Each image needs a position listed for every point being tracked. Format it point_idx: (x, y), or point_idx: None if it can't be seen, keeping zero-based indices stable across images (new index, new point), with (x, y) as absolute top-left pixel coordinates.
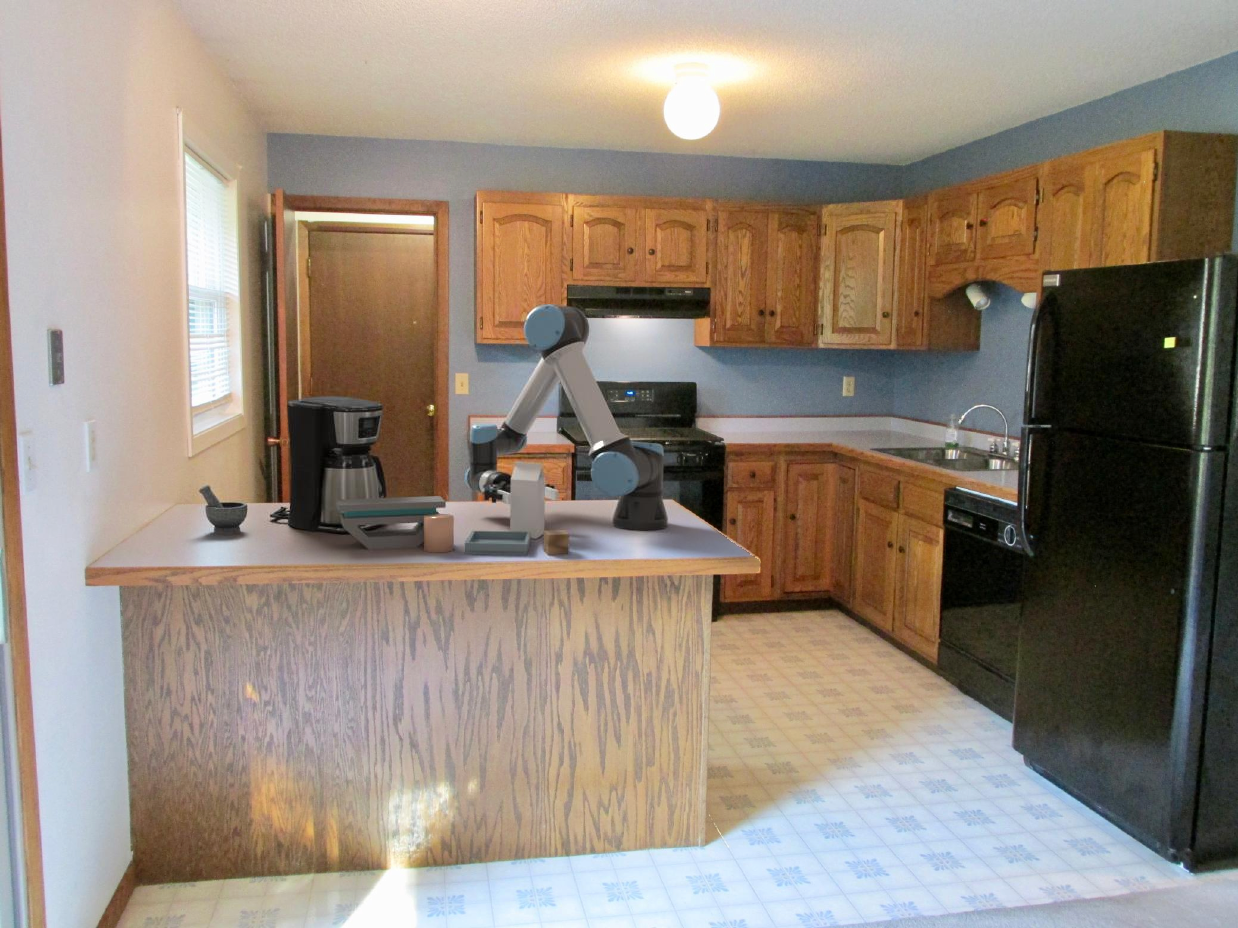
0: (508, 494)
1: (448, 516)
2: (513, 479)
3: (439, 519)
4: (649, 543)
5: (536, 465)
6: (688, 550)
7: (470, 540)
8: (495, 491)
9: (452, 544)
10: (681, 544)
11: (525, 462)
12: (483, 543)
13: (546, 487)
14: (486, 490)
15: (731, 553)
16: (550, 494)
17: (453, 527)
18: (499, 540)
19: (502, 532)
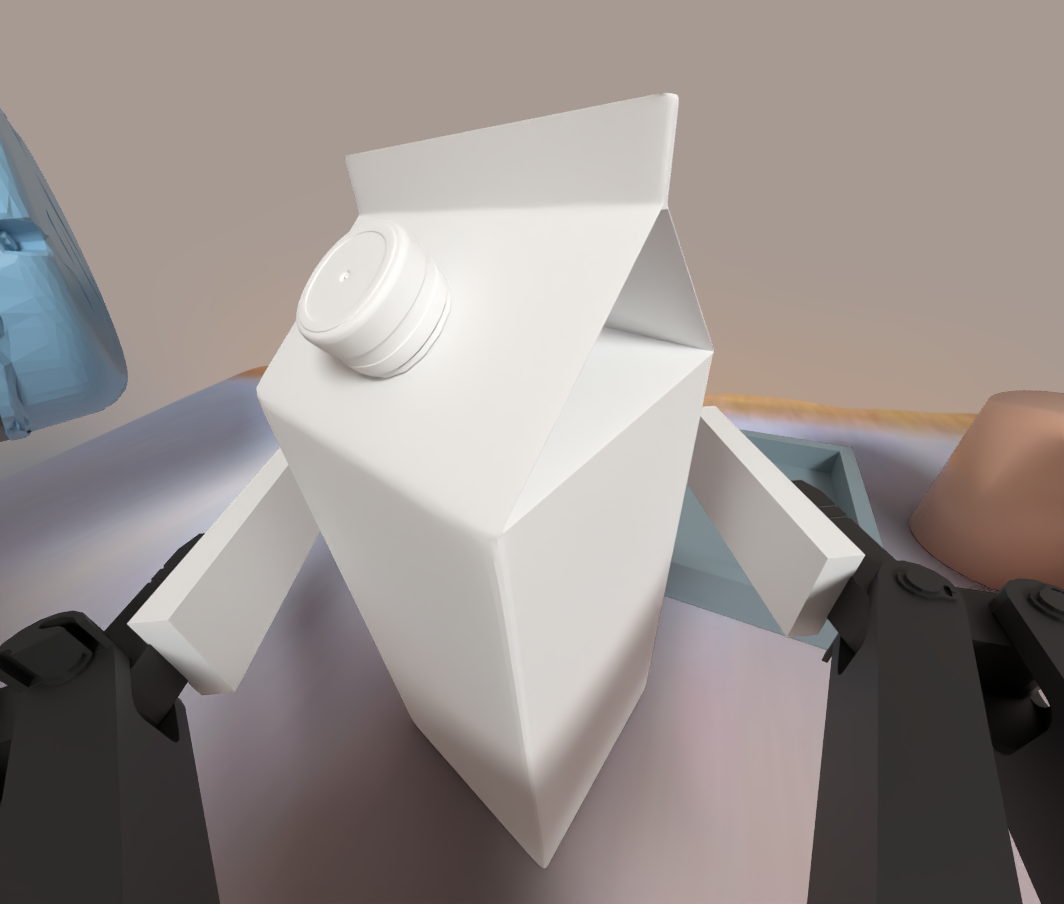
0: (712, 409)
1: (1025, 415)
2: (680, 346)
3: (1035, 393)
4: (239, 465)
5: (395, 188)
6: (254, 411)
7: (845, 489)
8: (883, 567)
9: (921, 502)
10: (192, 444)
11: (497, 128)
12: (777, 436)
13: (200, 572)
14: (1046, 590)
15: (221, 389)
16: (284, 537)
17: (960, 455)
18: (716, 560)
19: (706, 562)
